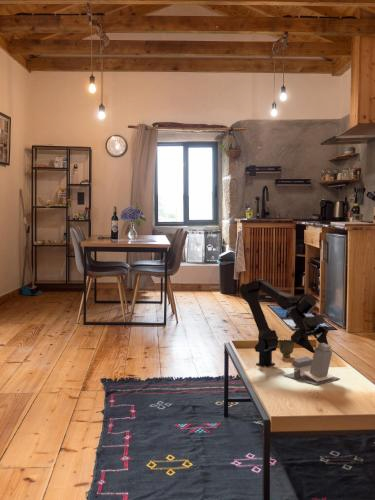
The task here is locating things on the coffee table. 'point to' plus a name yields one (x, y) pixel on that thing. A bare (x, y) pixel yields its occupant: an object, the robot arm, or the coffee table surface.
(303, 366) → the trapdoor flap
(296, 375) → the stand
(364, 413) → the coffee table surface
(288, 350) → the cup
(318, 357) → the stone pillar
